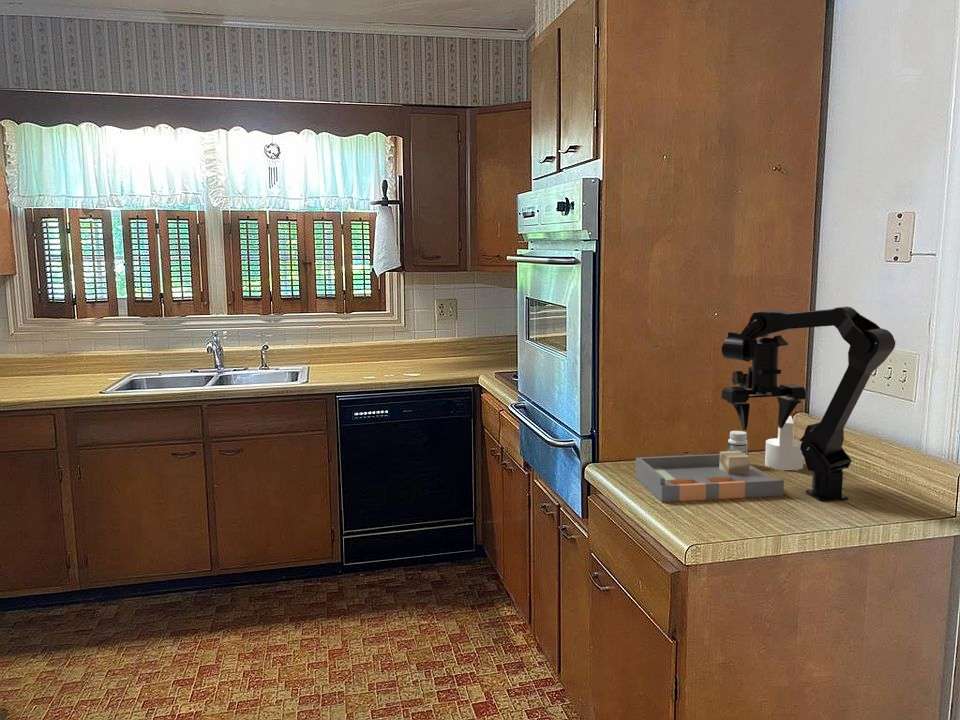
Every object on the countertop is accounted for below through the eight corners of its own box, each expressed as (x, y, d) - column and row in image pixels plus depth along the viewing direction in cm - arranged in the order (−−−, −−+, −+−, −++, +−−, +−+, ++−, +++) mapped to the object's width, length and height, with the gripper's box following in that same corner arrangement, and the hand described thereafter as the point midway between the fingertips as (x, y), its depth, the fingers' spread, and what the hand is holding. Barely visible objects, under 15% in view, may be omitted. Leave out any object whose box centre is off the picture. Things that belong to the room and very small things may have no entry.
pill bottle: (731, 460, 195) (732, 429, 194) (749, 463, 192) (750, 431, 191) (724, 464, 192) (725, 432, 190) (742, 468, 189) (744, 435, 187)
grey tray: (783, 495, 167) (784, 473, 166) (661, 501, 164) (662, 479, 163) (745, 472, 185) (746, 452, 184) (635, 477, 182) (635, 457, 181)
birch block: (748, 473, 176) (749, 456, 175) (728, 474, 175) (728, 457, 175) (739, 467, 181) (739, 450, 180) (719, 468, 180) (719, 451, 180)
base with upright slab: (804, 472, 184) (807, 424, 183) (765, 469, 187) (767, 422, 186) (801, 462, 193) (804, 416, 191) (764, 459, 196) (766, 414, 194)
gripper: (782, 357, 185) (780, 419, 188) (711, 360, 182) (709, 423, 185) (809, 364, 174) (806, 429, 177) (734, 367, 171) (732, 434, 174)
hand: (762, 428), depth 178 cm, fingers open, 9 cm apart
